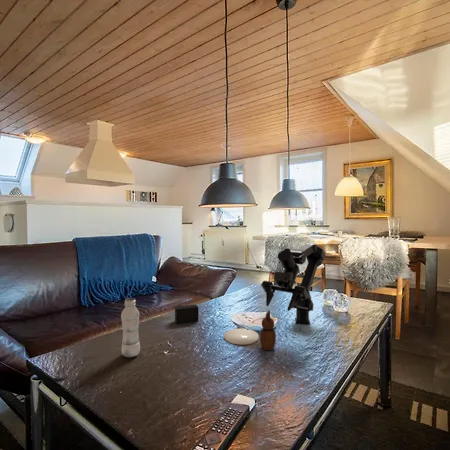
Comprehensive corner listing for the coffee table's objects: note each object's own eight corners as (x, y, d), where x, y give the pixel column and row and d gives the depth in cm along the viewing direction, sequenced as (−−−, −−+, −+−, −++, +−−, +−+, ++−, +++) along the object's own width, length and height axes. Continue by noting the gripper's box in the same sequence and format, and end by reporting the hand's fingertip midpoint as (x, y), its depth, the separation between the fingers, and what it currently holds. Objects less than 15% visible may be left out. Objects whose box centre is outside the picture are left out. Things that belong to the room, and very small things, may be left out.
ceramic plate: (227, 329, 129) (227, 327, 129) (259, 331, 126) (259, 329, 126) (221, 343, 115) (221, 341, 115) (257, 346, 113) (257, 344, 113)
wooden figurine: (275, 353, 107) (275, 312, 107) (259, 351, 108) (259, 311, 108) (275, 344, 114) (276, 306, 113) (260, 343, 115) (260, 305, 114)
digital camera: (195, 317, 144) (195, 303, 143) (198, 321, 139) (198, 306, 138) (174, 320, 140) (174, 305, 140) (176, 324, 135) (176, 309, 135)
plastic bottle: (123, 361, 101) (122, 303, 100) (120, 353, 107) (119, 298, 106) (142, 357, 104) (141, 301, 103) (138, 349, 110) (137, 296, 109)
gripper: (263, 261, 126) (249, 293, 117) (305, 266, 114) (293, 301, 106) (272, 276, 132) (259, 307, 124) (312, 282, 121) (302, 316, 113)
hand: (277, 308), depth 116 cm, fingers open, 9 cm apart
